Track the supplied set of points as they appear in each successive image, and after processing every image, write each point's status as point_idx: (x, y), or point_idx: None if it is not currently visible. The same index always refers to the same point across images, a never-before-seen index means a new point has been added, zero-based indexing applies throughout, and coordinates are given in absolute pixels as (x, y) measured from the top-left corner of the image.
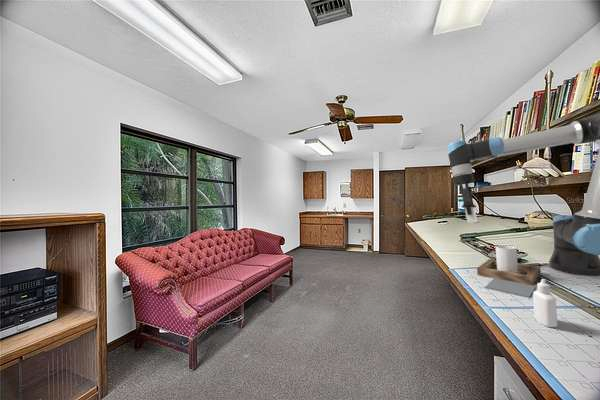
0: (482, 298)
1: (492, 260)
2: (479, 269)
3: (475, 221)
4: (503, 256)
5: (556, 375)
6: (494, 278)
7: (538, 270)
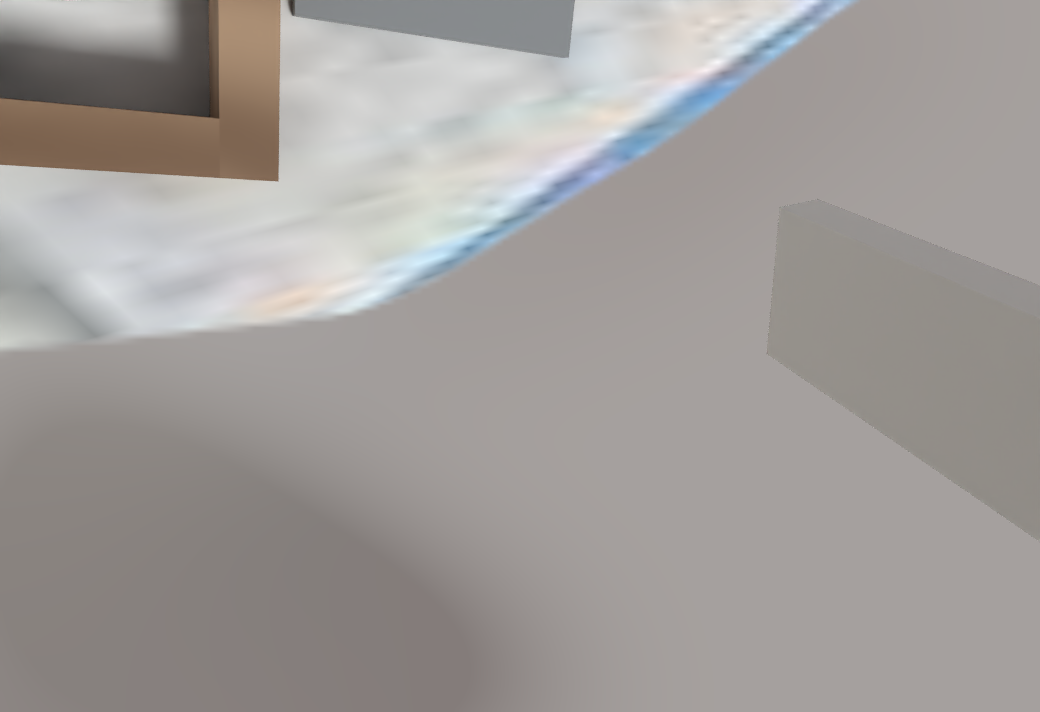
0: (742, 44)
1: None
2: (276, 157)
3: (821, 208)
4: None
5: None
6: (308, 12)
7: None
